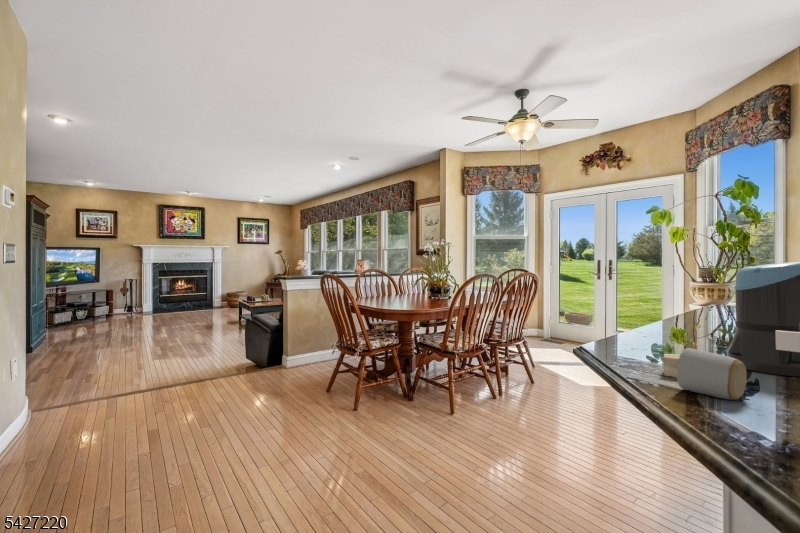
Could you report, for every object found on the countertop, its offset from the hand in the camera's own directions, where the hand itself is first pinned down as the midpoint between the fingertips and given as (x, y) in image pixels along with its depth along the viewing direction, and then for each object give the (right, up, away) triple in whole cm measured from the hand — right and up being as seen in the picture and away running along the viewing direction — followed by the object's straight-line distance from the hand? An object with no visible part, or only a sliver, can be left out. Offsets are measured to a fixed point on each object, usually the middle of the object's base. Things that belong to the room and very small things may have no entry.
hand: (788, 335), depth 58 cm
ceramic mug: (-4, -12, +9) cm, 16 cm away
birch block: (-2, -12, +20) cm, 24 cm away
